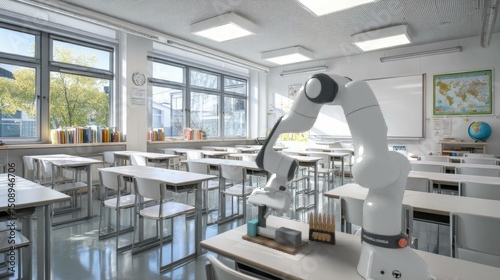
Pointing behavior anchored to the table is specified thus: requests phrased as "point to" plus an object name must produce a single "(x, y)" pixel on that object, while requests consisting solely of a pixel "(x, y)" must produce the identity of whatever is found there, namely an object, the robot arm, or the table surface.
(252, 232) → the socket block
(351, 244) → the table surface
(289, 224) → the table surface
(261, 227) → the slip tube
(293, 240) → the board
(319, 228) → the ammunition clip
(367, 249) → the robot arm
